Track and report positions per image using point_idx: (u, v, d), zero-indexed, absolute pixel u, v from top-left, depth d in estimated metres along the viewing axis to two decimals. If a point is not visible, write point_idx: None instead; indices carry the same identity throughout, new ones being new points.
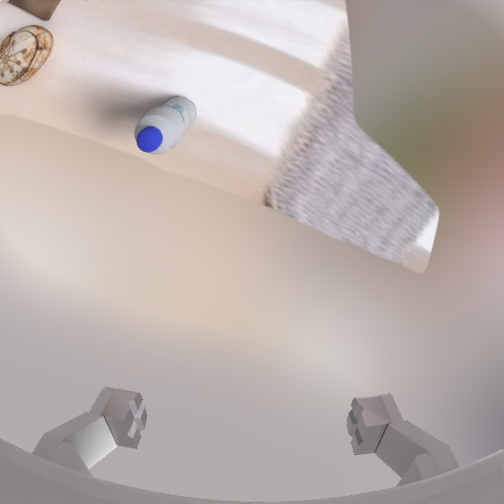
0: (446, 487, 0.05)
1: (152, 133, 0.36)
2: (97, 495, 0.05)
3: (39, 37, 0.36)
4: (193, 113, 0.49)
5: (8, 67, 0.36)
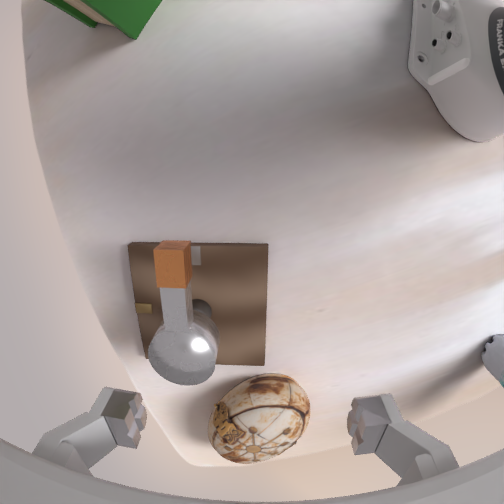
0: (446, 487, 0.05)
1: None
2: (97, 495, 0.05)
3: (295, 403, 0.33)
4: None
5: (266, 453, 0.33)
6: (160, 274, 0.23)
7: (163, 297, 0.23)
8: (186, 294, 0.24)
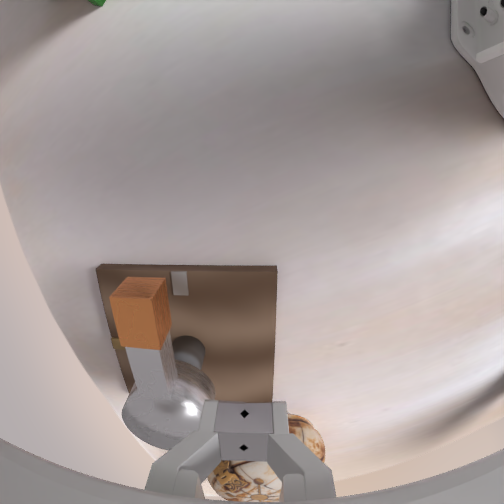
0: (446, 487, 0.05)
1: None
2: (97, 495, 0.05)
3: None
4: None
5: (274, 500, 0.26)
6: (123, 330, 0.15)
7: (131, 358, 0.16)
8: (163, 354, 0.16)
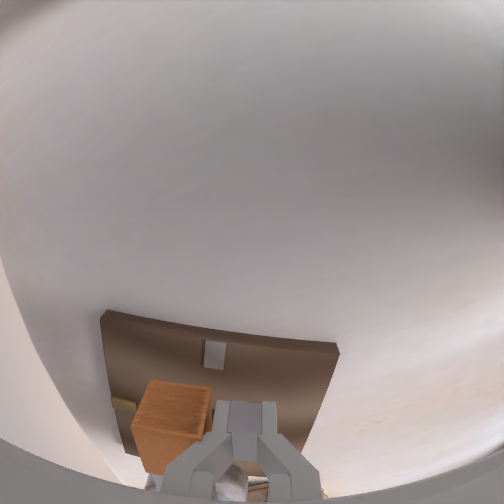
0: (446, 487, 0.05)
1: None
2: (98, 495, 0.05)
3: None
4: None
5: None
6: (150, 460, 0.09)
7: (159, 481, 0.09)
8: None
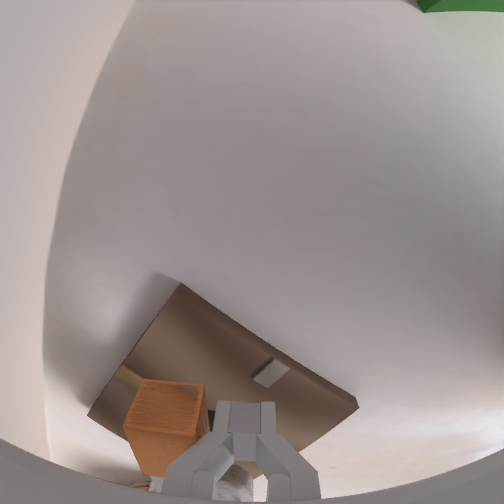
0: (446, 487, 0.05)
1: None
2: (97, 495, 0.05)
3: None
4: None
5: None
6: (146, 461, 0.08)
7: (158, 484, 0.09)
8: None
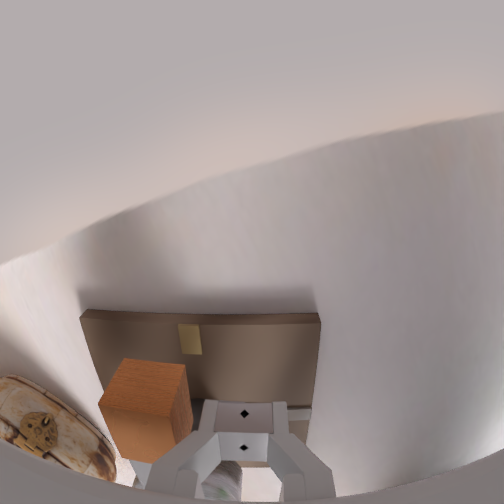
0: (446, 487, 0.05)
1: None
2: (97, 495, 0.05)
3: None
4: None
5: None
6: (124, 443, 0.08)
7: (138, 469, 0.09)
8: None
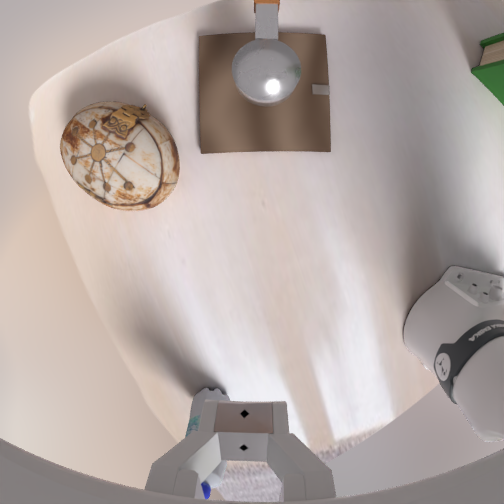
0: (446, 487, 0.05)
1: (207, 498, 0.29)
2: (98, 495, 0.05)
3: (163, 190, 0.32)
4: None
5: (89, 169, 0.29)
6: None
7: (258, 10, 0.21)
8: (277, 12, 0.22)
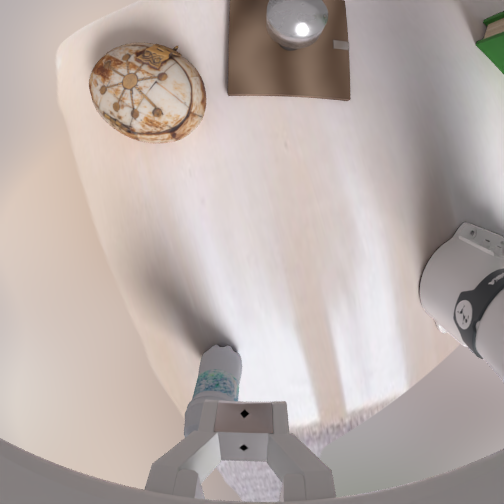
0: (446, 487, 0.05)
1: None
2: (97, 495, 0.05)
3: (190, 120, 0.31)
4: None
5: (119, 96, 0.28)
6: None
7: None
8: None
